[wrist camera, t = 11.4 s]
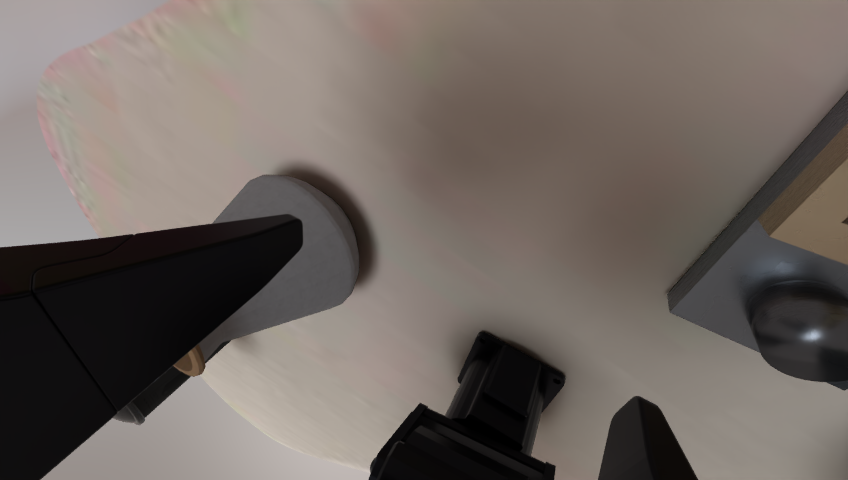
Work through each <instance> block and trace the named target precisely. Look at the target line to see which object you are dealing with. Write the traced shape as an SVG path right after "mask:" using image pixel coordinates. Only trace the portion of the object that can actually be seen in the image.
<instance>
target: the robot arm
mask: <svg viewBox="0 0 848 480" xmlns="http://www.w3.org/2000/svg"><path fill="white" fill-rule="evenodd" d="M302 246H303V223H302V221H301V220H300V219H299V218H297V217H295V216H293V215H291V214H282V215H274V216H267V217H259V218H251V219H244V220H236V221H229V222H221V223H213V224H206V225H198V226H191V227H183V228H176V229H168V230H160V231H153V232H145V233H138V234H135V235H133V234H129V235H122V236H115V237H106V238H98V239H90V240H81V241H69V242H60V243H47V244H36V245H24V246H12V247H0V480H40V479H42V478H43V477H44V476H45V475H46V474H47V473H48V472H50V471H51V470H52V469H53V468H54V467H56V466H57V465H58V464H59V463H60V462H61V461H63V460H64V459H65V458H66V457H67V456H68V455H70V454H71V453H72V452H73V451H74V450H75V449H77V448H78V447H79V446H80V445H81V444H82V443H84V442H85V441H86V440H87V439H88V438H89V437H91V436H92V435H93V434H94V433H95V432H96V431H98V430H99V429H100V428H101V427H102V426H103V425H104V424H106V423H107V422H108V421H109V420H110V419H111V418H113V417H114V416H115V415H116V414H117V413H118V412H119V411H121V410H122V409H123V408H124V407H125V406H127V405H128V404H129V403H130V402H131V401H132V400H134V399H135V398H136V397H137V396H138V395H139V394H141V393H142V392H143V391H144V390H145V389H146V388H148V387H149V386H150V385H151V384H152V383H153V382H155V381H156V380H157V379H158V378H159V377H160V376H162V375H163V374H164V373H165V372H166V371H167V370H169V369H170V368H171V367H172V366H173V365H174V364H176V363H177V362H178V361H179V360H180V359H181V358H183V357H184V356H185V355H186V354H187V353H188V352H190V351H191V350H192V349H193V348H194V347H195V346H197V345H198V344H199V343H200V342H201V341H202V340H204V339H205V338H206V337H207V336H208V335H209V334H211V333H212V332H213V331H214V330H215V329H216V328H218V327H219V326H220V325H221V324H222V323H223V322H225V321H226V320H227V319H228V318H229V317H230V316H232V315H233V314H234V313H235V312H236V311H237V310H239V309H240V308H241V307H242V306H243V305H244V304H246V303H247V302H248V301H249V300H250V299H251V298H253V297H254V296H255V295H256V294H257V293H258V292H260V291H261V290H262V289H263V288H264V287H265V286H266V285H267V284H268V283H269V282H270V281H271V280H272V279H273V278H274V277H275V276H276V275H277V274H278V273H279V272H280V271H281V270H282V269H283V267H284V266H285V265H286V264H287V263H288V262H289V261H290V260H291V259H292V258H293V257H294V256H295V255H296V254H297V253H298V252H299V251H300V249H301V248H302ZM482 338H483V339H482ZM484 339H485V340H484ZM558 379H559V380H558ZM565 380H566V378H565V376H564V375H563V374H562V373H560V372H558V371H556V370H555V369H553V368H551V367H549V366H547V365H545V364H543V363H542V362H540V361H538V360H536V359H534V358H532V357H530V356H529V355H527V354H525V353H523V352H521V351H519V350H517V349H516V348H514V347H512V346H510V345H508V344H506V343H504V342H502V341H501V340H499V339H497V338H495V337H493V336H491V335H489V334H488V333H485V332H480V333H479V334H478V336H477V338H476V340H475V342H474V344H473V346H472V349H471V351H470V353H469V355H468V357H467V359H466V362H465V364H464V366H463V368H462V370H461V373H460V375H459V377H458V382H459V383H460V386H459V388H458V390H457V392H456V394H455V396H454V398H453V400H452V402H451V405H450V407H449V409H448V411H447V413H446V415H445V416H444V415H442V414H439V413H437V412H435V411H433V410H431V409H429V408H428V406H426V405H424V404H422V403H420V404H419V405H418V406H417V407H416V408H415V410H414V411H413V412H411V413H410V414H409V416H408V417H407V418H406V419H405V421H404V422H403V423H402V424H401V425H400V427H399V428H398V429H397V430H396V432H395V433H394V434H393V435H392V437H391V438H390V439H389V440H388V442H387V443H386V444H385V445H384V446H383V448H382V449H381V450H380V451H379V453H378V455H377V457H376V458H374V460H373V461H372V463H371V466H370V472H371V474H370V477H369V480H554V475H555V468H556V466H554V465H552V464H550V463H548V462H546V463H544V462H542V461H540V460H537V459H535V458H533V457H531V453H532V449H533V445H534V441H535V436H536V432H537V428H538V424H539V420H540V415H541V413H542V412H543V411H544V409H545V408H546V407H547V406H548V404H549V403H550V402H551V401H552V400H553V398H554V397H555V396H556V395H557V393H558V392H559V391H560V390H561V389H562V387H563V386H564V384H565ZM598 480H698V478H697V477H696V475H695V473H694V471H693V469H692V467H691V465H690V463H689V462H688V460H687V458H686V456H685V454H684V452H683V450H682V449H681V447H680V445H679V443H678V441H677V439H676V437H675V435H674V434H673V432H672V430H671V428H670V426H669V424H668V422H667V421H666V419H665V417H664V415H663V413H662V411H661V410H660V408H659V407H658V406H657V405H655V404H653V403H652V402H650V401H648V400H646V399H644V398H642V397H640V396H635V397H633V398H632V399H630V400H629V401H628V402H627V403H626V404H625V405H624V406H623V407H622V408H621V409H620V410H619V411H617V412H616V413H615V415H614V416H613V418H612V421H611V424H610V428H609V433H608V437H607V442H606V446H605V451H604V455H603V460H602V464H601V469H600V473H599V478H598Z"/></svg>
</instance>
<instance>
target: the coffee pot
mask: <svg viewBox="0 0 848 480" xmlns="http://www.w3.org/2000/svg"><path fill="white" fill-rule="evenodd" d="M282 214H291V215H293V216H295V217H297V218H299V219H300V220H301V221H302V223H303V246H302V248H301V249H300V251H299V252H298V253H297V254H296V255H295V256H294V257H293V258H292V259H291V260H290V261H289V262H288V263H287V264H286V265H285V266H284V267H283V269H282V270H281V271H280V272H279V273H278V274H277V275H276V276H275V277H274V278H273V279H272V280H271V281H270V282H269V283H268V284H267V285H266V286H265V287H264V288H263V289H262V290H261V291H260V292H258V293H257V294H256V295H255V296H254V297H253V298H251V299H250V300H249V301H248V302H247V303H246V304H244V305H243V306H242V307H241V308H240V309H239V310H237V311H236V312H235V313H234V314H233V315H232V316H230V317H229V318H228V319H227V320H226V321H225V322H223V323H222V324H221V325H220V326H219V327H218V328H216V329H215V330H214V331H213V332H212V333H211V334H209V335H208V336H207V337H206V338H205V339H204V340H202V341H201V342H200V343H199V344H198V345H197V346H195V347H194V348H193V349H192V350H191V351H190V352H188V353H187V354H186V355H185V356H184V357H183V358H181V359H180V360H179V361H178V362H177V363H176V364H174V365H173V366H174V367H175V368H177V369H178V370H179V371H181V372H183V373H185V374H187V375H189V376H193V377H194V376H197V375H200V374H202V373H203V371H204V369H205V361H206V360H207V359H208V358H209V357H210V356H211V354H212V353H213V352H214V351H215V350H216V349H217V348H218V347H219V345H220V344H221V343H223V342H226V341H229V340H232V339H235V338H238V337H242V336H245V335H248V334H251V333H254V332H257V331H261V330H264V329H267V328H270V327H273V326H276V325H280V324H283V323H286V322H289V321H292V320H295V319H299V318H302V317H305V316H308V315H311V314H314V313H318V312H321V311H324V310H327V309H330V308H333V307H335V306H338V305H340V304H342V303H343V302H344V301H345V300H346V299H347V298H348V297H349V296H350V295H351V293H352V291H353V288H354V285H355V282H356V279H357V276H358V273H359V253H358V248H357V241H356V237H355V233H354V229H353V227H352V225H351V223H350V221H349V219H348V217H347V216H346V214H345V213H344V212H343V210H342V209H341V207H340V206H339V205H338V204H337V203H336V202H335V201H334V200H333V199H332V198H330V197H329V196H327V195H326V194H324V193H323V192H321V191H319V190H318V189H316V188H315V187H313V186H312V185H310V184H308V183H306V182H304V181H302V180H299V179H296V178H294V177H291V176H282V175H262V176H260V177H257V178H255V179H252V180H250V181H249V182H248V183H247V184H246V185H245V186H244V188H243V189H242V190H241V191H240V192H239V193H238V195H237V196H236V197H235V198H234V199H233V200H232V201H231V203H230V204H229V205H228V206H227V207H226V208H225V209H224V211H223V212H222V213H221V214H220V215H219V216H218V217H217V219H216V220H215V221H214V222H213V223H221V222H229V221H236V220H244V219H251V218H259V217H267V216H274V215H282ZM213 223H212V224H213Z"/></svg>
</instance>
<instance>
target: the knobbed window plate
mask: <svg viewBox="0 0 848 480" xmlns="http://www.w3.org/2000/svg"><path fill="white" fill-rule="evenodd" d="M667 296H668V304H669V311H670V313H672V314H674V315H677V316H679V317H681V318H683V319H686V320H688V321H690V322H692V323H695V324H697V325H699V326H701V327H704V328H706V329H708V330H710V331H713V332H715V333H717V334H719V335H721V336H724V337H726V338H728V339H730V340H733V341H735V342H737V343H739V344H742V345H744V346H746V347H748V348H751V349H753V350H755V351H757V352H760V353H761V355H762V357H763V358H764V359H765V361H766V362H767V363H768V364H770V365H771V366H772V367H774V368H775V369H777V370H778V371H780V372H782V373H785V374H787V375H790V376H793V377H796V378H800V379H804V380H810V381H818V382H827V383H829V384H831V385H833V386H836V387H838V388H840V389H842V390H846V389H848V92H847V93H846V94H845V95H844V96H843V97H842V99H841V100H840V101H839V102H838V103H837V104H836V105H835V106H834V108H833V109H832V110H831V111H830V112H829V113H828V114H827V115H826V117H825V118H824V119H823V120H822V121H821V122H820V123H819V124H818V126H817V127H816V128H815V129H814V130H813V131H812V132H811V133H810V135H809V136H808V137H807V138H806V139H805V140H804V141H803V142H802V143H801V145H800V146H799V147H798V148H797V149H796V150H795V151H794V152H793V154H792V155H791V156H790V157H789V158H788V159H787V160H786V161H785V163H784V164H783V165H782V166H781V167H780V168H779V169H778V170H777V172H776V173H775V174H774V175H773V176H772V177H771V178H770V179H769V181H768V182H767V183H766V184H765V185H764V186H763V187H762V188H761V190H760V191H759V192H758V193H757V194H756V195H755V196H754V197H753V199H752V200H751V201H750V202H749V203H748V204H747V205H746V206H745V208H744V209H743V210H742V211H741V212H740V213H739V214H738V215H737V216H736V218H735V219H734V220H733V221H732V222H731V223H730V224H729V225H728V227H727V228H726V229H725V230H724V231H723V232H722V233H721V234H720V236H719V237H718V238H717V239H716V240H715V241H714V242H713V243H712V245H711V246H710V247H709V248H708V249H707V250H706V251H705V252H704V254H703V255H702V256H701V257H700V258H699V259H698V260H697V261H696V263H695V264H694V265H693V266H692V267H691V268H690V269H689V270H688V272H687V273H686V274H685V275H684V276H683V277H682V278H681V279H680V281H679V282H678V283H677V284H676V285H675V286H674V287H673V288H672V290H671V291H670V292H669V293H668V294H667Z"/></svg>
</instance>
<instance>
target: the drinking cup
mask: <svg viewBox="0 0 848 480" xmlns="http://www.w3.org/2000/svg"><path fill="white" fill-rule="evenodd" d="M230 341H231V340H229V341H226V342H223V343H221V344H220V345H219V347H218V348H217V349H216V350H215V351H214V352H213V353H212V354H211V356H210V357H209V358H208V359H207V360H206V361H205V363H206V362H208V361H209V360H210V359H211V358H212V357H213V356H214V355H215V354H216V353H218V352H219V351H220V350H221V349H222V348H223V347H224V346H225V345H227V344H228V343H229V342H230ZM190 377H191V376H189V375H187V374H185V373H183V372H181V371H179V370H178V369H177V368H175V367H174V366H172V367H171V368H170V369H169V370H167V371H166V372H165V373H164V374H163V375H162V376H160V377H159V378H158V379H157V380H156V381H155V382H153V383H152V384H151V385H150V386H149V387H148V388H146V389H145V390H144V391H143V392H142V393H141V394H139V395H138V396H137V397H136V398H135V399H134V400H132V401H131V402H130V403H129V404H128V405H127V406H125V407H124V408H123V409H122V410H121V411H119V412H118V413H117V414H116V415H115V416H114V417H113V418H114V419H116V420H119V421H123V422H129V423H135V424H137V425H141V424H142V423H143V422H144V421H145V417H146V416H147V415H149V414H150V413H151V412H152V411H153V410H154V409H155V408H156V407H157V406H159V405H160V404H161V403H162V402H163V401H164V400H165V399H166V398H167V397H168V396H169V395H171V394H172V393H173V392H174V391H175V390H176V389H178V388H179V387H180V386H181V385H182V384H183V383H184V382H185V381H186V380H187V379H189V378H190Z"/></svg>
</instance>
